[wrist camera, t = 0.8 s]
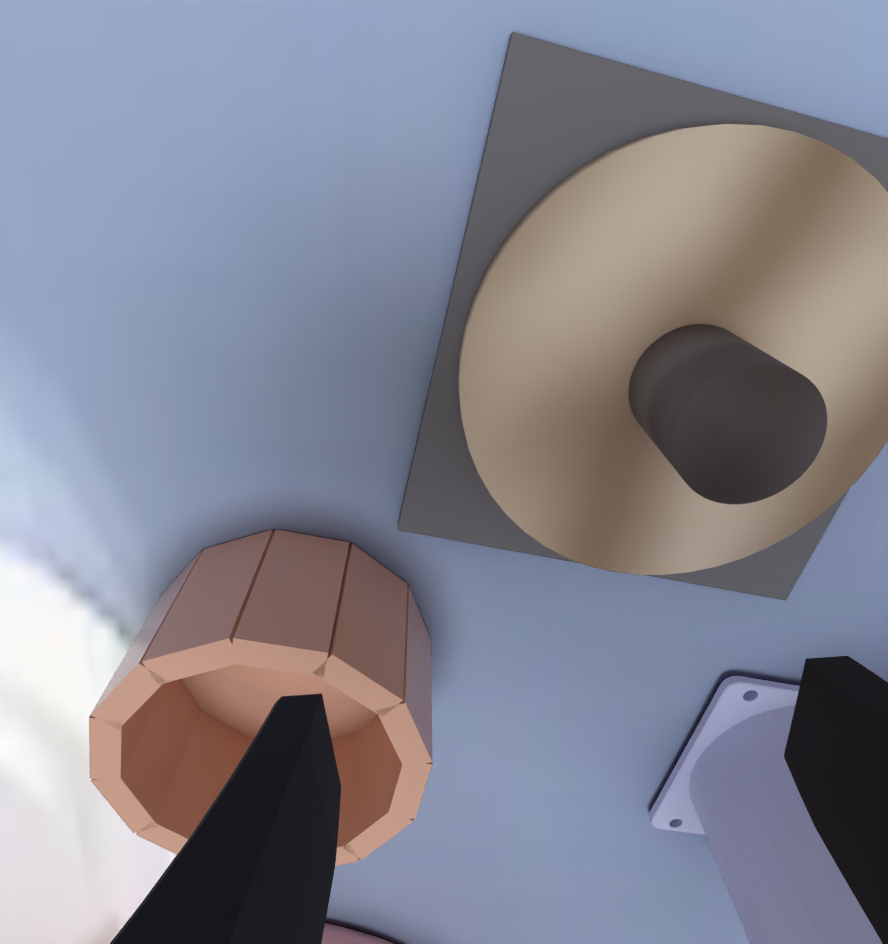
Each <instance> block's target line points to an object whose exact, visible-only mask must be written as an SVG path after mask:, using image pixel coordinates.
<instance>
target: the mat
mask: <svg viewBox="0 0 888 944" xmlns="http://www.w3.org/2000/svg"><path fill="white" fill-rule="evenodd" d="M720 124H743V125H763V126H768V127H773V128H779V129H784V130H789V131H794V132H797V133H800V134H802V135H805V136H808V137H810V138H813V139H816V140H819V141H821V142H824V143H826V144H828V145H830V146H831V147H833V148H835V149H837V150H838V151H840V152H842V153H843V154H845V155H847V156H849V157H850V158H852V159H854V160H855V161H856V162H857V163H858V164H859V165H861V166H862V167H863V168H864V169H865V170H867V171H868V172H869V173H870V174H871V175H872V176H874V177H875V178H876V179H877V180H878V181H879V182H880V184H881V185H882V186H883V187H884V189H885V190H886V191H887V192H888V139H887V138H884V137H880V136H877V135H873V134H869V133H866V132H862V131H859V130H855V129H852V128H848V127H845V126H841V125H838V124H834V123H831V122H827V121H824V120H820V119H817V118H813V117H810V116H806V115H803V114H799V113H796V112H792V111H789V110H785V109H782V108H778V107H775V106H771V105H768V104H764V103H761V102H757V101H754V100H750V99H746V98H743V97H739V96H736V95H732V94H729V93H725V92H722V91H718V90H715V89H711V88H708V87H704V86H701V85H697V84H694V83H690V82H687V81H683V80H680V79H676V78H673V77H669V76H666V75H662V74H659V73H655V72H652V71H648V70H645V69H641V68H638V67H634V66H631V65H627V64H623V63H620V62H616V61H613V60H609V59H606V58H602V57H599V56H595V55H592V54H588V53H585V52H581V51H578V50H574V49H571V48H567V47H564V46H560V45H557V44H553V43H550V42H546V41H543V40H539V39H536V38H532V37H529V36H525V35H522V34H518V33H515V32H512V34H511V35H510V40H509V44H508V48H507V53H506V57H505V61H504V66H503V70H502V74H501V79H500V83H499V87H498V92H497V96H496V100H495V105H494V109H493V113H492V118H491V122H490V126H489V131H488V135H487V139H486V144H485V148H484V152H483V157H482V161H481V165H480V170H479V174H478V178H477V183H476V187H475V191H474V196H473V200H472V204H471V209H470V213H469V217H468V222H467V226H466V230H465V235H464V239H463V243H462V248H461V252H460V256H459V261H458V265H457V269H456V274H455V278H454V282H453V287H452V291H451V295H450V300H449V304H448V308H447V313H446V317H445V321H444V326H443V330H442V334H441V339H440V343H439V347H438V352H437V356H436V360H435V365H434V369H433V373H432V378H431V382H430V386H429V391H428V395H427V399H426V404H425V408H424V412H423V417H422V421H421V425H420V430H419V434H418V438H417V443H416V447H415V451H414V456H413V460H412V464H411V469H410V473H409V477H408V482H407V486H406V490H405V495H404V499H403V503H402V508H401V512H400V516H399V521H398V529H397V530H400V531H406V532H411V533H417V534H422V535H428V536H433V537H439V538H444V539H450V540H455V541H461V542H466V543H472V544H477V545H483V546H488V547H494V548H499V549H505V550H510V551H516V552H521V553H527V554H532V555H538V556H543V557H549V558H554V559H560V560H565V561H571V562H576V563H580V562H577V561H574V560H572V559H569V558H566V557H564V556H562V555H560V554H558V553H557V552H555V551H553V550H551V549H549V548H547V547H545V546H544V545H542V544H541V543H539V542H538V541H537V540H535V539H534V538H532V537H531V536H530V535H528V534H527V533H525V532H524V531H523V530H522V529H521V528H520V527H519V526H518V525H517V524H516V523H515V522H514V521H512V520H511V519H510V518H509V517H508V516H507V515H506V514H505V512H504V511H503V510H502V509H501V507H500V506H499V505H498V503H497V502H496V501H495V500H494V498H493V497H492V496H491V494H490V493H489V491H488V489H487V487H486V486H485V484H484V482H483V480H482V479H481V477H480V475H479V474H478V471H477V469H476V466H475V464H474V461H473V459H472V456H471V454H470V451H469V448H468V444H467V440H466V436H465V432H464V427H463V423H462V417H461V410H460V399H459V389H458V369H459V353H460V347H461V341H462V336H463V330H464V325H465V322H466V319H467V316H468V312H469V309H470V306H471V303H472V300H473V297H474V294H475V292H476V290H477V288H478V286H479V284H480V281H481V279H482V277H483V275H484V273H485V271H486V268H487V267H488V265H489V263H490V262H491V260H492V259H493V257H494V255H495V254H496V252H497V251H498V249H499V247H500V246H501V244H502V243H503V241H504V240H505V238H506V237H507V236H508V235H509V233H510V232H511V231H512V230H513V228H514V227H515V226H516V225H517V223H518V222H519V221H520V220H521V219H522V217H523V216H524V215H525V214H526V213H527V212H528V211H529V210H530V209H531V208H532V207H533V206H534V205H535V204H536V203H537V202H538V201H539V200H540V199H541V198H542V197H543V196H544V195H545V194H546V193H547V192H548V191H549V190H551V189H552V188H553V187H555V186H556V185H557V184H559V183H560V182H561V181H563V180H564V179H565V178H567V177H568V176H569V175H571V174H572V173H573V172H575V171H576V170H577V169H579V168H580V167H582V166H584V165H586V164H587V163H589V162H591V161H593V160H594V159H596V158H598V157H600V156H601V155H603V154H605V153H607V152H608V151H611V150H613V149H616V148H618V147H620V146H623V145H625V144H628V143H630V142H633V141H635V140H638V139H640V138H643V137H647V136H651V135H655V134H659V133H662V132H666V131H670V130H674V129H681V128H690V127H699V126H708V125H720ZM848 490H849V489H848ZM848 490H847V491H846V492H845V493H844V494H843V495H842V496H841V497H840V498H839V499H838V500H837V501H836V502H835V503H834V504H832V505H831V506H830V507H829V508H827V509H826V510H825V511H824V512H823V513H821V514H820V515H819V516H818V517H817V518H815V519H814V520H812V521H811V522H809V523H808V524H806V525H805V526H804V527H802V528H801V529H799V530H798V531H796V532H795V533H793V534H792V535H790V536H788V537H786V538H784V539H782V540H781V541H779V542H777V543H775V544H773V545H771V546H770V547H768V548H766V549H763V550H761V551H759V552H756V553H754V554H751V555H749V556H747V557H744V558H742V559H739V560H736V561H733V562H729V563H726V564H723V565H720V566H717V567H713V568H708V569H703V570H698V571H693V572H687V573H677V574H667V575H648V576H653V577H659V578H665V579H670V580H676V581H681V582H687V583H692V584H698V585H703V586H709V587H714V588H720V589H725V590H731V591H736V592H742V593H747V594H753V595H758V596H764V597H769V598H775V599H780V600H786V599H787V597H788V596H789V594H790V592H791V590H792V589H793V587H794V585H795V583H796V582H797V580H798V578H799V576H800V574H801V573H802V571H803V569H804V567H805V566H806V564H807V562H808V560H809V559H810V557H811V555H812V553H813V552H814V550H815V548H816V546H817V545H818V543H819V541H820V539H821V538H822V536H823V534H824V532H825V531H826V529H827V527H828V525H829V523H830V522H831V520H832V518H833V516H834V515H835V513H836V511H837V509H838V508H839V506H840V504H841V502H842V501H843V499H844V497H845V495H846V494H847V492H848Z"/></svg>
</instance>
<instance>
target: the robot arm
mask: <svg viewBox="0 0 888 944" xmlns="http://www.w3.org/2000/svg"><path fill="white" fill-rule="evenodd" d="M747 691H749V692H747ZM746 692H747V693H746ZM340 799H341V783H340V778H339V774H338V769H337V764H336V759H335V754H334V749H333V744H332V740H331V735H330V730H329V725H328V720H327V715H326V711H325V706H324V701H323V696H322V693H321V694H307V695H293V696H281V697H280V698H279V699H278V700H277V701H276V702H275V704H274V706H273V707H272V709H271V711H270V713H269V714H268V716H267V718H266V719H265V721H264V723H263V725H262V726H261V728H260V730H259V731H258V733H257V735H256V736H255V738H254V740H253V741H252V743H251V744H250V746H249V748H248V749H247V751H246V753H245V754H244V756H243V757H242V759H241V761H240V762H239V764H238V765H237V767H236V768H235V770H234V772H233V773H232V775H231V776H230V778H229V780H228V781H227V783H226V784H225V786H224V787H223V789H222V790H221V792H220V793H219V795H218V796H217V798H216V799H215V801H214V802H213V804H212V805H211V807H210V808H209V810H208V811H207V813H206V814H205V816H204V817H203V819H202V820H201V821H200V823H199V824H198V826H197V827H196V829H195V830H194V832H193V833H192V835H191V836H190V838H189V839H188V840H187V842H186V843H185V845H184V846H183V848H182V849H181V850H180V852H179V853H178V854H177V856H176V857H175V858H174V860H173V861H172V862H171V864H170V865H169V867H168V868H167V869H166V871H165V872H164V873H163V875H162V876H161V877H160V879H159V880H158V882H157V883H156V884H155V886H154V887H153V888H152V890H151V891H150V892H149V894H148V895H147V897H146V898H145V899H144V901H143V902H142V903H141V905H140V906H139V907H138V909H137V910H136V911H135V912H134V914H133V915H132V916H131V918H130V919H129V920H128V921H127V923H126V924H125V925H124V926H123V928H122V929H121V930H120V932H119V933H118V934H117V935H116V937H115V938H114V939H113V940H112V942H111V943H110V944H321V943H322V937H323V932H324V926H325V920H326V915H327V909H328V903H329V897H330V892H331V886H332V880H333V874H334V868H335V862H336V853H337V841H338V828H339V814H340ZM649 817H650V820H651V823H652V825H653V826H654V827H655V828H658V829H664V830H671V831H679V832H687V833H694V834H702V835H706V837H707V840H708V842H709V845H710V847H711V850H712V852H713V854H714V857H715V859H716V862H717V864H718V867H719V869H720V871H721V874H722V876H723V879H724V881H725V884H726V886H727V888H728V891H729V893H730V896H731V898H732V901H733V903H734V905H735V908H736V910H737V913H738V915H739V918H740V920H741V923H742V925H743V927H744V930H745V932H746V935H747V937H748V940H749V942H750V944H888V683H887V682H886V681H884V680H883V679H882V678H880V677H879V676H877V675H876V674H874V673H873V672H871V671H870V670H868V669H867V668H865V667H864V666H862V665H861V664H859V663H858V662H856V661H855V660H853V659H852V658H850V657H848V656H839V657H825V658H811V659H806V662H805V666H804V670H803V675H802V679H801V683H800V686H797V685H791V684H785V683H779V682H773V681H766V680H760V679H754V678H748V677H742V676H731V677H728V678H726V679H725V680H724V681H723V682H722V683H721V684H720V686H719V688H718V690H717V691H716V693H715V695H714V697H713V699H712V700H711V702H710V704H709V706H708V708H707V709H706V711H705V713H704V715H703V717H702V719H701V720H700V722H699V724H698V726H697V728H696V729H695V731H694V733H693V735H692V737H691V738H690V740H689V742H688V744H687V746H686V747H685V749H684V751H683V753H682V755H681V756H680V758H679V760H678V762H677V764H676V766H675V767H674V769H673V771H672V773H671V775H670V776H669V778H668V780H667V782H666V784H665V785H664V787H663V789H662V791H661V793H660V794H659V796H658V798H657V800H656V802H655V804H654V805H653V807H652V809H651V811H650V813H649Z"/></svg>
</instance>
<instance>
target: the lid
mask: <svg viewBox="0 0 888 944" xmlns="http://www.w3.org/2000/svg"><path fill="white" fill-rule="evenodd" d="M458 389H459V399H460V410H461V417H462V423H463V427H464V432H465V436H466V440H467V444H468V448H469V451H470V454H471V456H472V459H473V461H474V464H475V466H476V469H477V471H478V474H479V475H480V477H481V479H482V480H483V482H484V484H485V486H486V487H487V489H488V491H489V493H490V494H491V496H492V497H493V498H494V500H495V501H496V502H497V503H498V505H499V506H500V507H501V509H502V510H503V511H504V512H505V514H506V515H507V516H508V517H509V518H510V519H511V520H512V521H514V522H515V523H516V524H517V525H518V526H519V527H520V528H521V529H522V530H523V531H524V532H525V533H527V534H528V535H530V536H531V537H532V538H534V539H535V540H537V541H538V542H539V543H541V544H542V545H544V546H545V547H547V548H549V549H551V550H553V551H555V552H557V553H558V554H560V555H562V556H564V557H566V558H569V559H572V560H574V561H577V562H580V563H582V564H585V565H587V566H591V567H595V568H599V569H604V570H608V571H612V572H620V573H628V574H636V575H667V574H677V573H687V572H693V571H698V570H703V569H708V568H713V567H717V566H720V565H723V564H726V563H729V562H733V561H736V560H739V559H742V558H744V557H747V556H749V555H751V554H754V553H756V552H759V551H761V550H763V549H766V548H768V547H770V546H771V545H773V544H775V543H777V542H779V541H781V540H782V539H784V538H786V537H788V536H790V535H792V534H793V533H795V532H796V531H798V530H799V529H801V528H802V527H804V526H805V525H806V524H808V523H809V522H811V521H812V520H814V519H815V518H817V517H818V516H819V515H820V514H821V513H823V512H824V511H825V510H826V509H827V508H829V507H830V506H831V505H832V504H834V503H835V502H836V501H837V500H838V499H839V498H840V497H841V496H842V495H843V494H844V493H845V492H846V491H847V490H848V489H849V488H850V487H851V486H852V485H853V484H854V483H855V482H856V481H857V480H858V479H859V478H860V477H861V476H862V474H863V473H864V472H865V471H866V469H867V468H868V467H869V466H870V464H871V463H872V462H873V461H874V460H875V458H876V457H877V456H878V454H879V453H880V451H881V450H882V448H883V447H884V445H885V444H886V442H887V441H888V192H887V191H886V190H885V189H884V187H883V186H882V185H881V184H880V182H879V181H878V180H877V179H876V178H875V177H874V176H872V175H871V174H870V173H869V172H868V171H867V170H865V169H864V168H863V167H862V166H861V165H859V164H858V163H857V162H856V161H855V160H854V159H852V158H850V157H849V156H847V155H845V154H843V153H842V152H840V151H838V150H837V149H835V148H833V147H831V146H830V145H828V144H826V143H824V142H821V141H819V140H816V139H813V138H810V137H808V136H805V135H802V134H800V133H797V132H794V131H789V130H784V129H779V128H773V127H768V126H763V125H743V124H720V125H708V126H699V127H690V128H681V129H674V130H670V131H666V132H662V133H659V134H655V135H651V136H647V137H643V138H640V139H638V140H635V141H633V142H630V143H628V144H625V145H623V146H620V147H618V148H616V149H613V150H611V151H608V152H607V153H605V154H603V155H601V156H600V157H598V158H596V159H594V160H593V161H591V162H589V163H587V164H586V165H584V166H582V167H580V168H579V169H577V170H576V171H575V172H573V173H572V174H571V175H569V176H568V177H567V178H565V179H564V180H563V181H561V182H560V183H559V184H557V185H556V186H555V187H553V188H552V189H551V190H549V191H548V192H547V193H546V194H545V195H544V196H543V197H542V198H541V199H540V200H539V201H538V202H537V203H536V204H535V205H534V206H533V207H532V208H531V209H530V210H529V211H528V212H527V213H526V214H525V215H524V216H523V217H522V219H521V220H520V221H519V222H518V223H517V225H516V226H515V227H514V228H513V230H512V231H511V232H510V233H509V235H508V236H507V237H506V238H505V240H504V241H503V243H502V244H501V246H500V247H499V249H498V251H497V252H496V254H495V255H494V257H493V259H492V260H491V262H490V263H489V265H488V267H487V268H486V271H485V273H484V275H483V277H482V279H481V281H480V284H479V286H478V288H477V290H476V292H475V294H474V297H473V300H472V303H471V306H470V309H469V312H468V316H467V319H466V322H465V325H464V330H463V336H462V341H461V347H460V353H459V369H458Z"/></svg>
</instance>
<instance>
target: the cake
mask: <svg viewBox="0 0 888 944" xmlns="http://www.w3.org/2000/svg"><path fill="white" fill-rule="evenodd" d="M321 944H394V943H392V942H389V941H386V940H384V939H381V938H378V937H375V936H372V935H369V934H365V933H362V932H359V931H355V930H352V929H348V928H344V927H341V926H337V925H332V924H328V923H325V926H324V932H323V937H322V943H321Z"/></svg>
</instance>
